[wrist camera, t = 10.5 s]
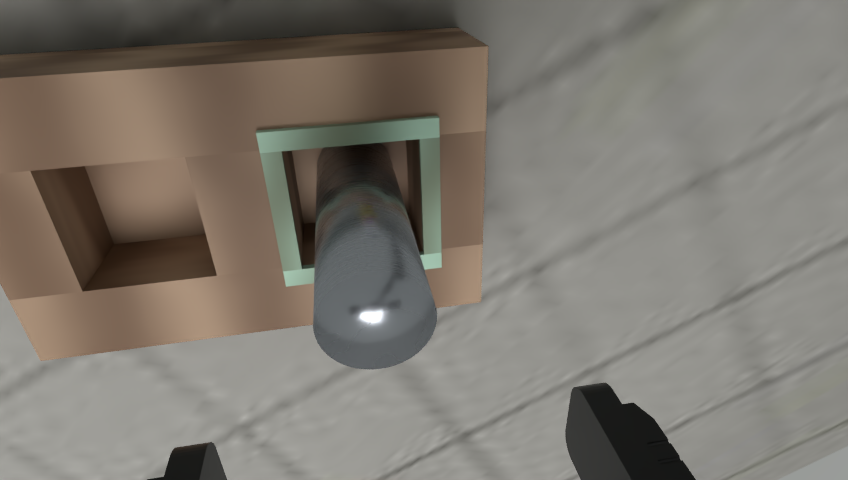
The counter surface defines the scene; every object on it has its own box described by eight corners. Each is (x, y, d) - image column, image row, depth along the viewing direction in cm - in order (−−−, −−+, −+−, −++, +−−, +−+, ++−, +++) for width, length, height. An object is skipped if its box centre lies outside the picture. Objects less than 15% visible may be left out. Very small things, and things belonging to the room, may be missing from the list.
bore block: (457, 27, 24) (490, 47, 20) (457, 250, 30) (482, 305, 26) (-20, 56, 22) (-110, 87, 17) (83, 295, 28) (37, 365, 23)
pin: (389, 129, 25) (436, 264, 15) (393, 198, 27) (437, 360, 17) (312, 135, 24) (305, 278, 14) (321, 205, 26) (321, 376, 16)
